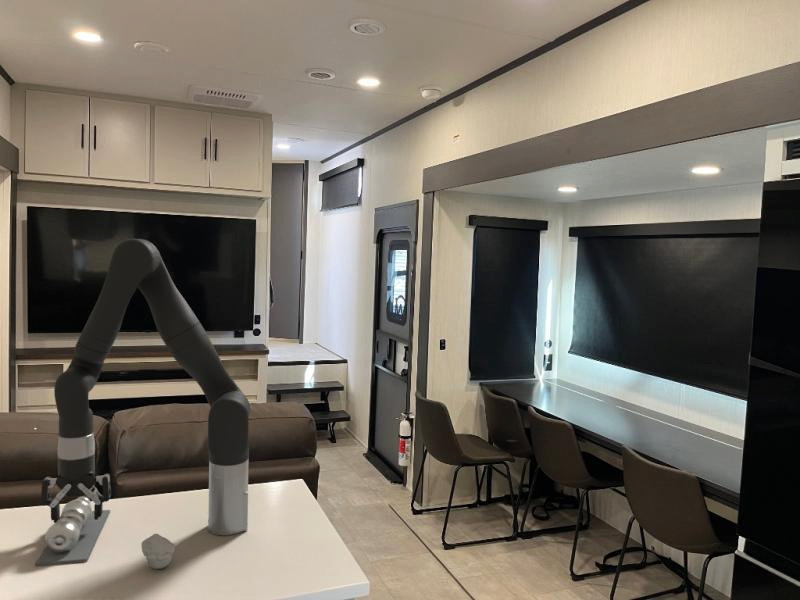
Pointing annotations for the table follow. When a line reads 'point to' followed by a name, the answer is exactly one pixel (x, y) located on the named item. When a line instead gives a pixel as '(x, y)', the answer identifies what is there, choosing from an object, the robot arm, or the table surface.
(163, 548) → the grey cupcake
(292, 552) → the table surface
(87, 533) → the charcoal rubber mat
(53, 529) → the plastic bottle
